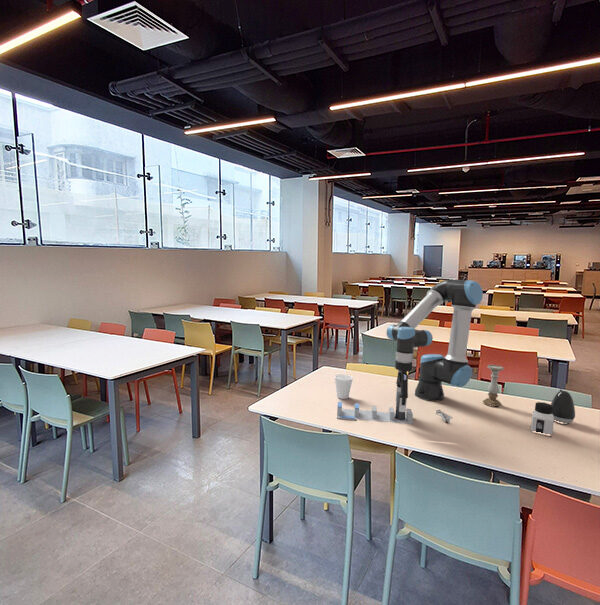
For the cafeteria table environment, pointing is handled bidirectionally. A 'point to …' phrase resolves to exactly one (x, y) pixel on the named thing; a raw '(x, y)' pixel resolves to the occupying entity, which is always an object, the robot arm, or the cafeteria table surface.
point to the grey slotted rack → (372, 414)
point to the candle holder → (493, 386)
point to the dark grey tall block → (398, 414)
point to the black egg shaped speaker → (563, 407)
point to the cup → (343, 385)
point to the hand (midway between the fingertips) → (400, 406)
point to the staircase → (444, 416)
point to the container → (542, 418)
